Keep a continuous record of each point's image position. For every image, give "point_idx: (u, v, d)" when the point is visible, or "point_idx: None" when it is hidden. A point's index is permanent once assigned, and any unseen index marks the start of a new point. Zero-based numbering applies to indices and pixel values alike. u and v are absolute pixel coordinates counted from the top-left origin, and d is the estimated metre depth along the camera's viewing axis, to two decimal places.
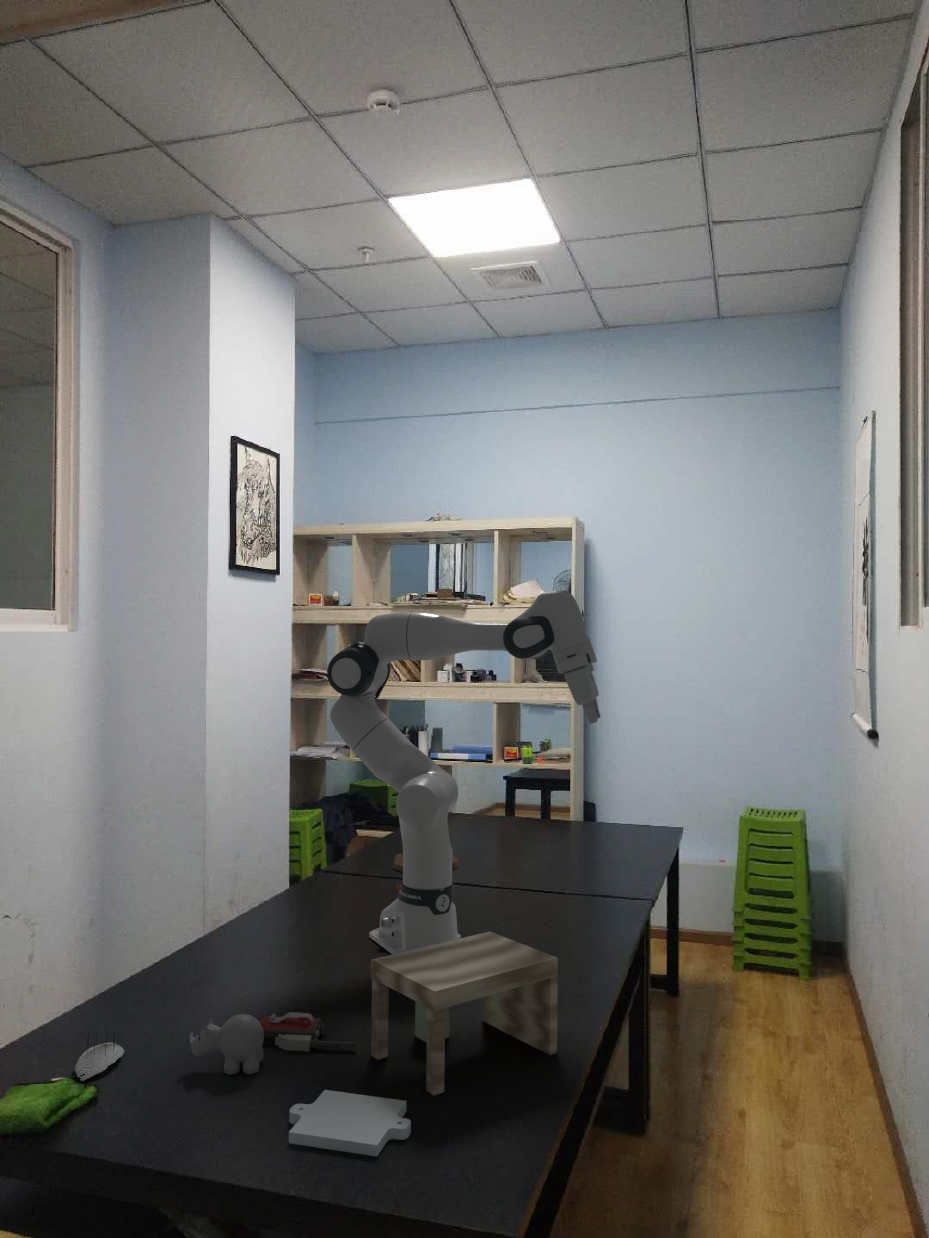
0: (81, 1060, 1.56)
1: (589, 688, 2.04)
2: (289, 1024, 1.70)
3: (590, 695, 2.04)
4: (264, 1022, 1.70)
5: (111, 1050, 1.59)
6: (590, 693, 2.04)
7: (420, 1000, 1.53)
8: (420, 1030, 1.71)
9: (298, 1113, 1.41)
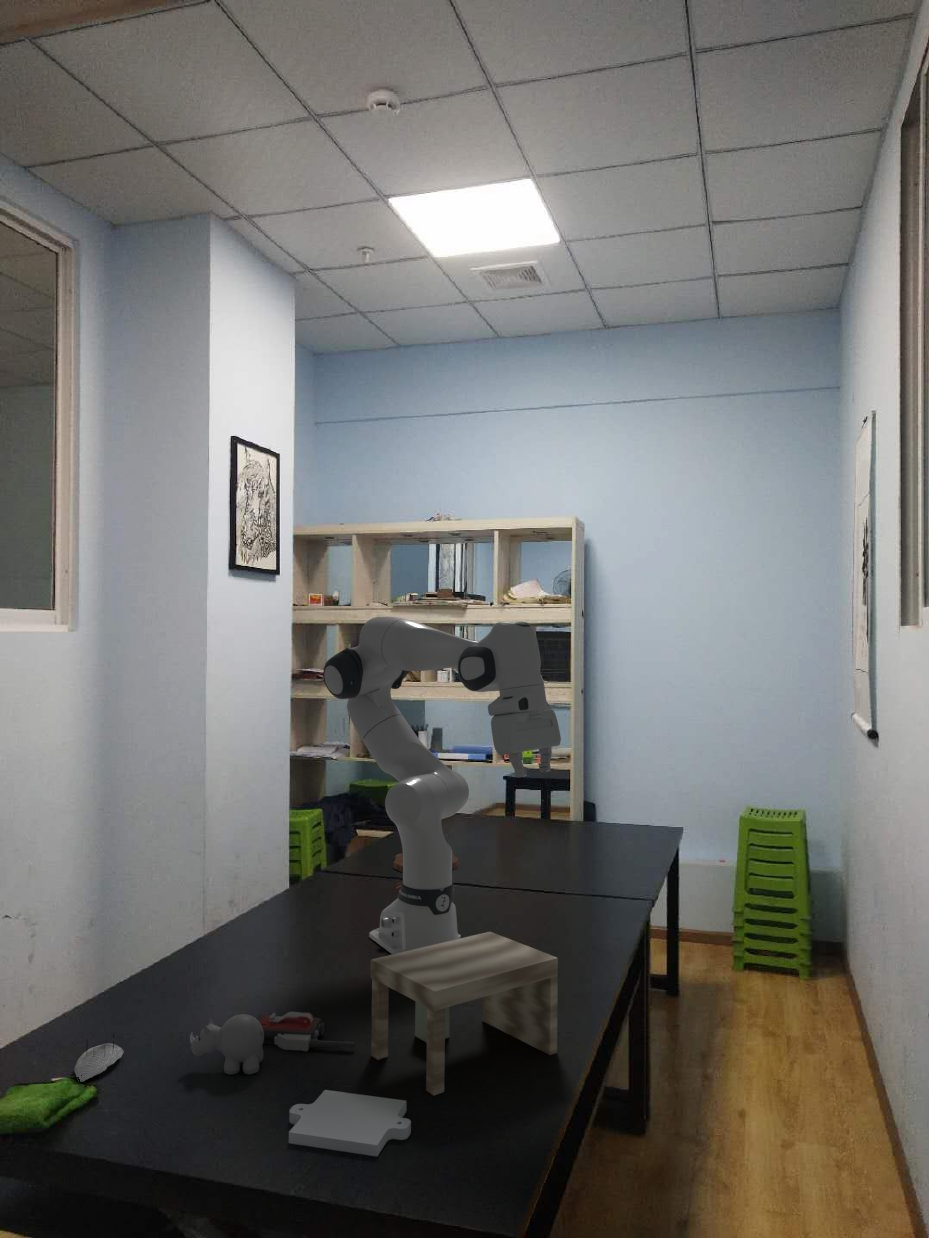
0: (80, 1061, 1.56)
1: (510, 738, 1.79)
2: (289, 1023, 1.70)
3: (510, 746, 1.79)
4: (264, 1021, 1.71)
5: (110, 1051, 1.59)
6: (510, 744, 1.79)
7: (420, 1000, 1.53)
8: (420, 1030, 1.71)
9: (298, 1113, 1.41)
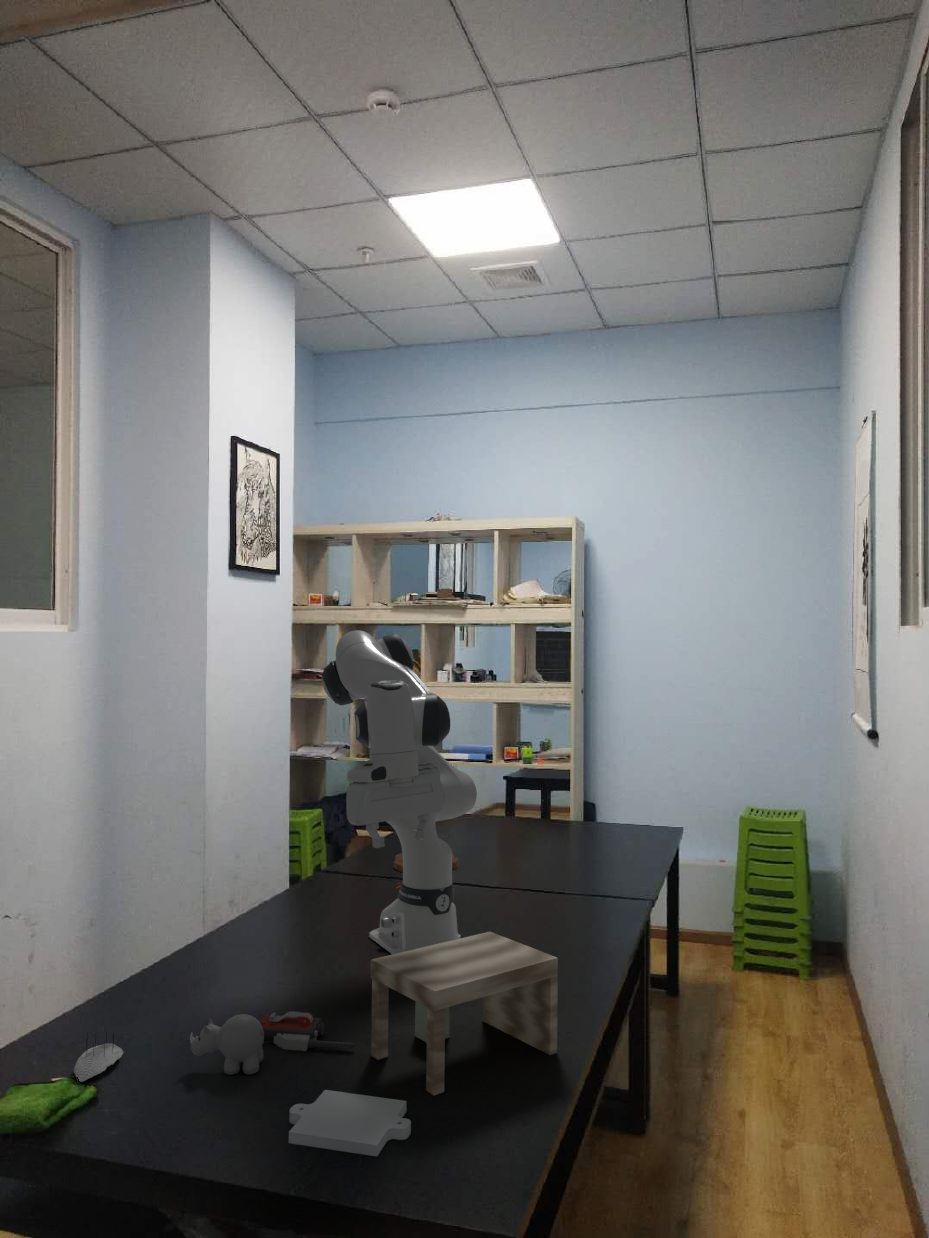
0: (80, 1061, 1.56)
1: (358, 810, 1.73)
2: (289, 1023, 1.70)
3: (357, 818, 1.73)
4: (264, 1021, 1.71)
5: (110, 1051, 1.59)
6: (357, 816, 1.73)
7: (420, 1000, 1.53)
8: (420, 1030, 1.71)
9: (298, 1113, 1.41)
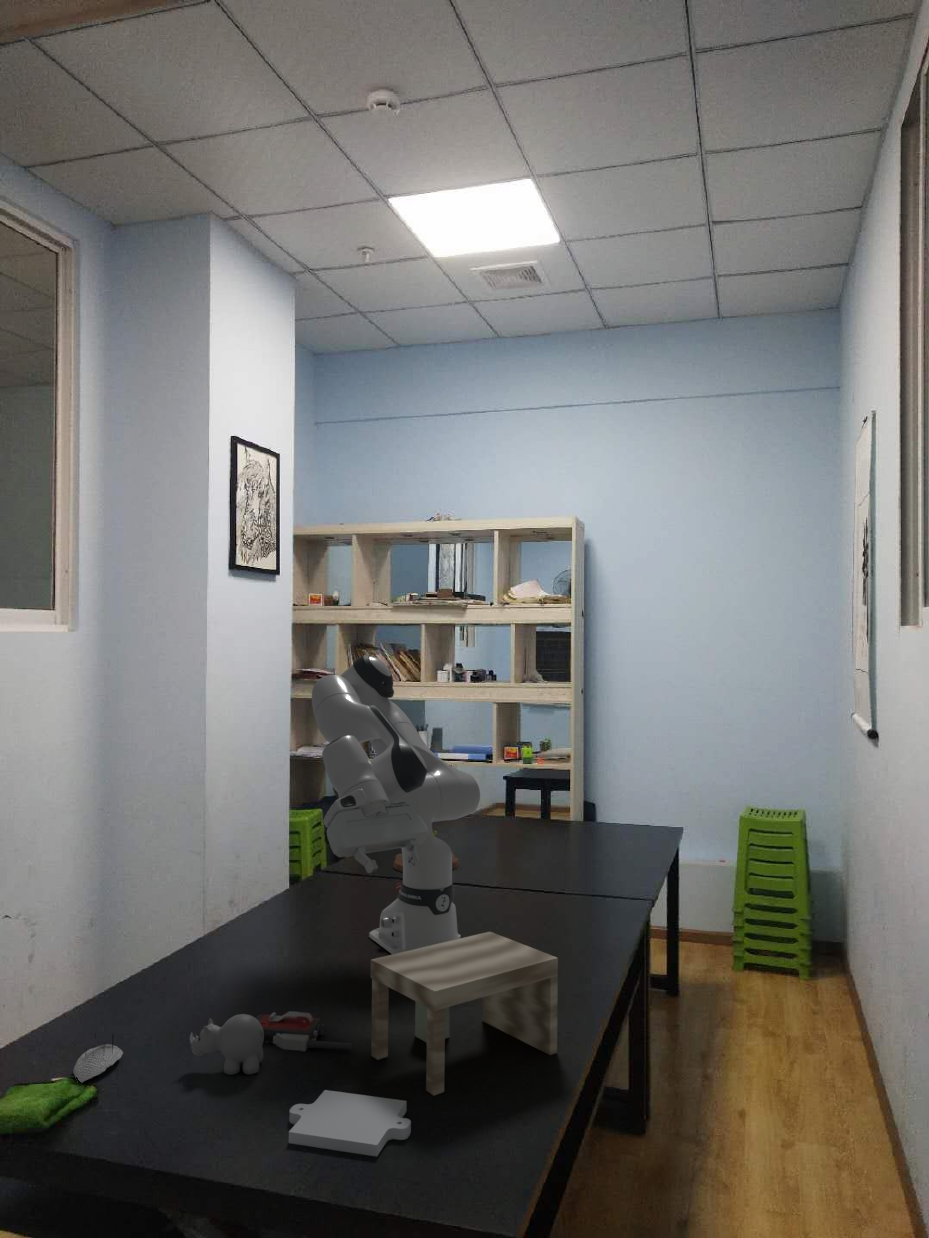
0: (80, 1062, 1.56)
1: (338, 835, 1.79)
2: (288, 1023, 1.70)
3: (340, 842, 1.78)
4: (264, 1020, 1.71)
5: (110, 1052, 1.58)
6: (340, 840, 1.78)
7: (420, 1000, 1.53)
8: (420, 1030, 1.71)
9: (298, 1113, 1.41)
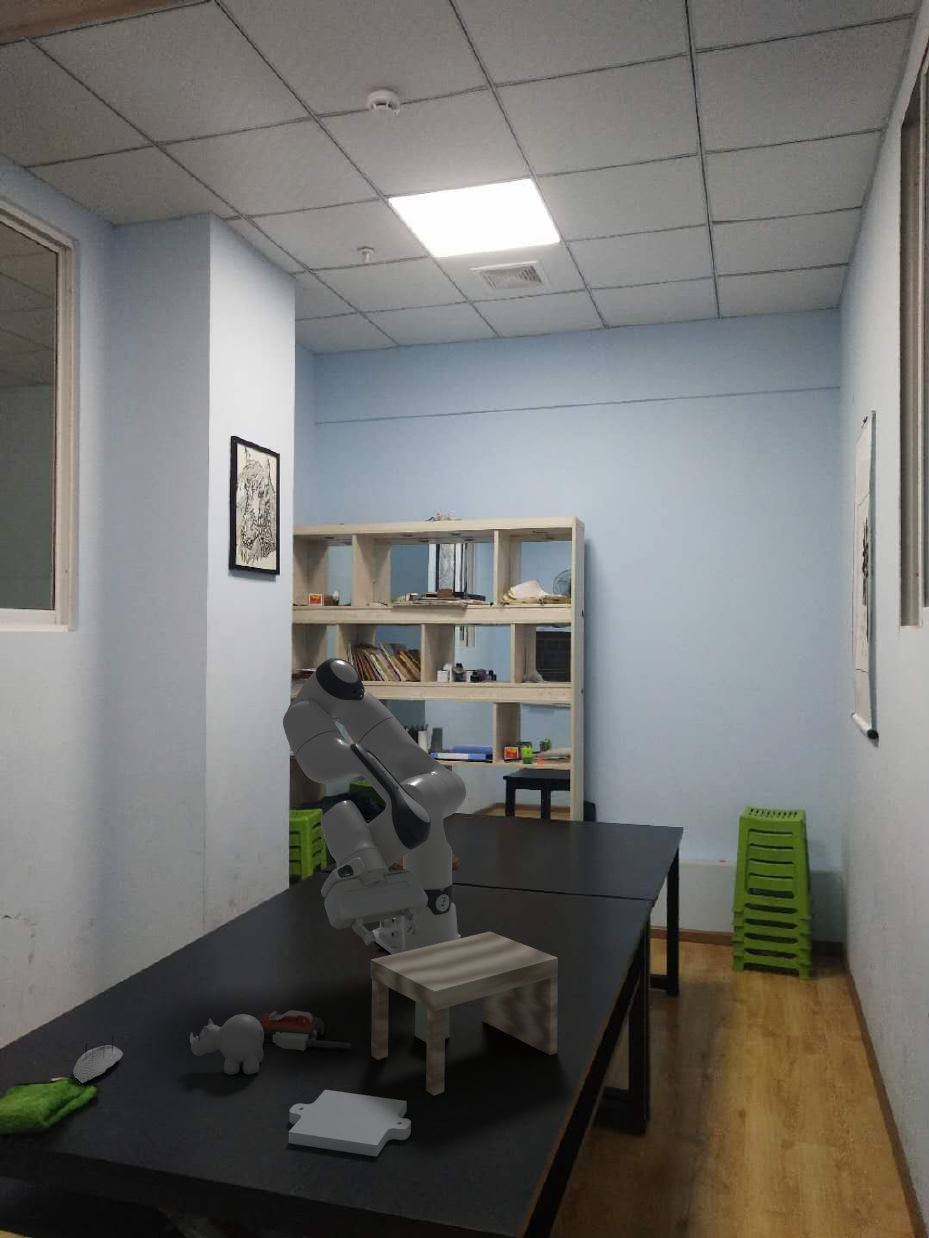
0: (79, 1063, 1.55)
1: (336, 906, 1.77)
2: (288, 1022, 1.70)
3: (337, 914, 1.77)
4: (264, 1019, 1.72)
5: (109, 1053, 1.58)
6: (337, 912, 1.77)
7: (420, 1000, 1.53)
8: (420, 1030, 1.71)
9: (298, 1113, 1.41)
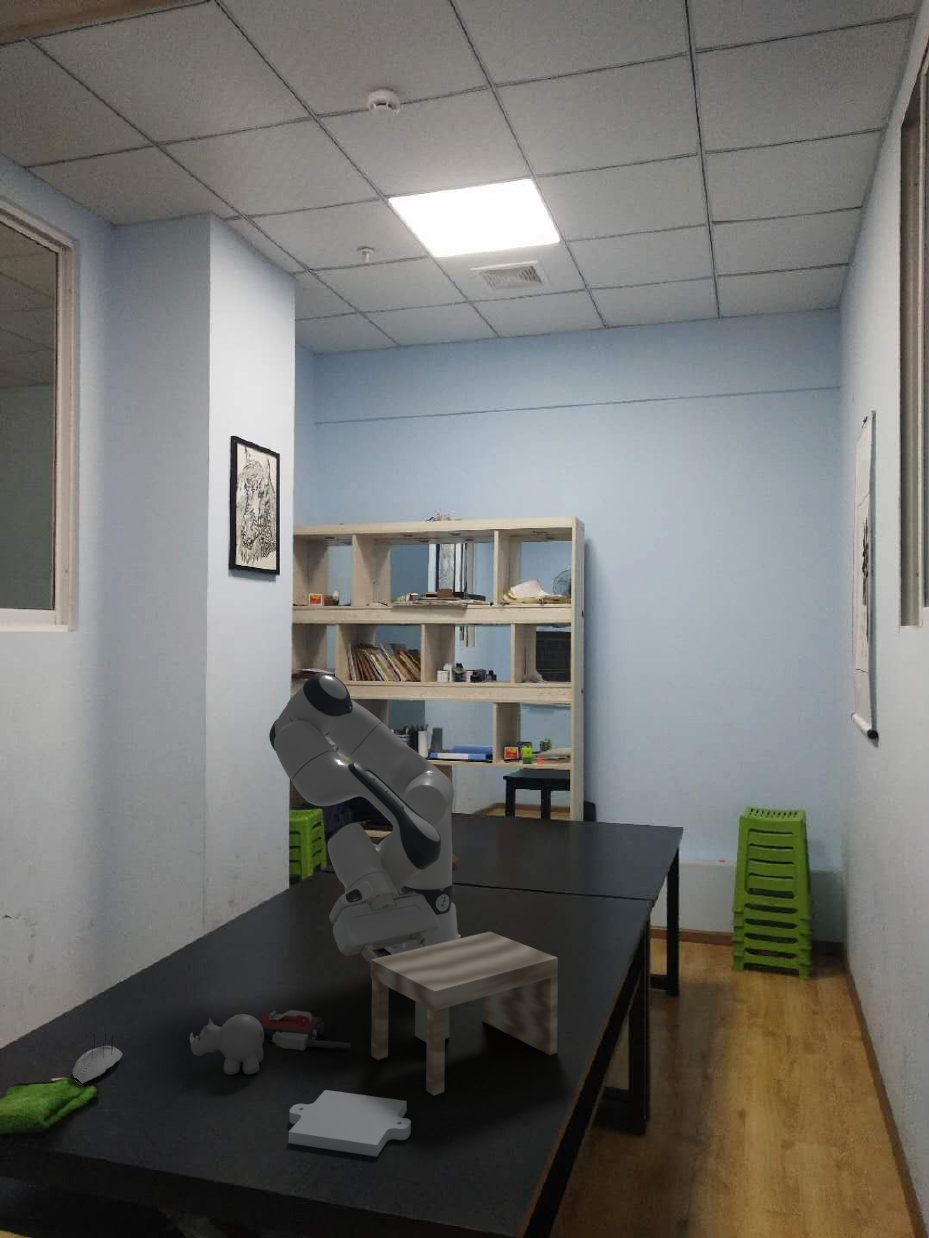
0: (79, 1063, 1.55)
1: (344, 932, 1.72)
2: (288, 1022, 1.71)
3: (346, 940, 1.72)
4: (264, 1019, 1.72)
5: (109, 1053, 1.58)
6: (346, 938, 1.72)
7: (420, 1000, 1.53)
8: (420, 1030, 1.71)
9: (298, 1113, 1.41)
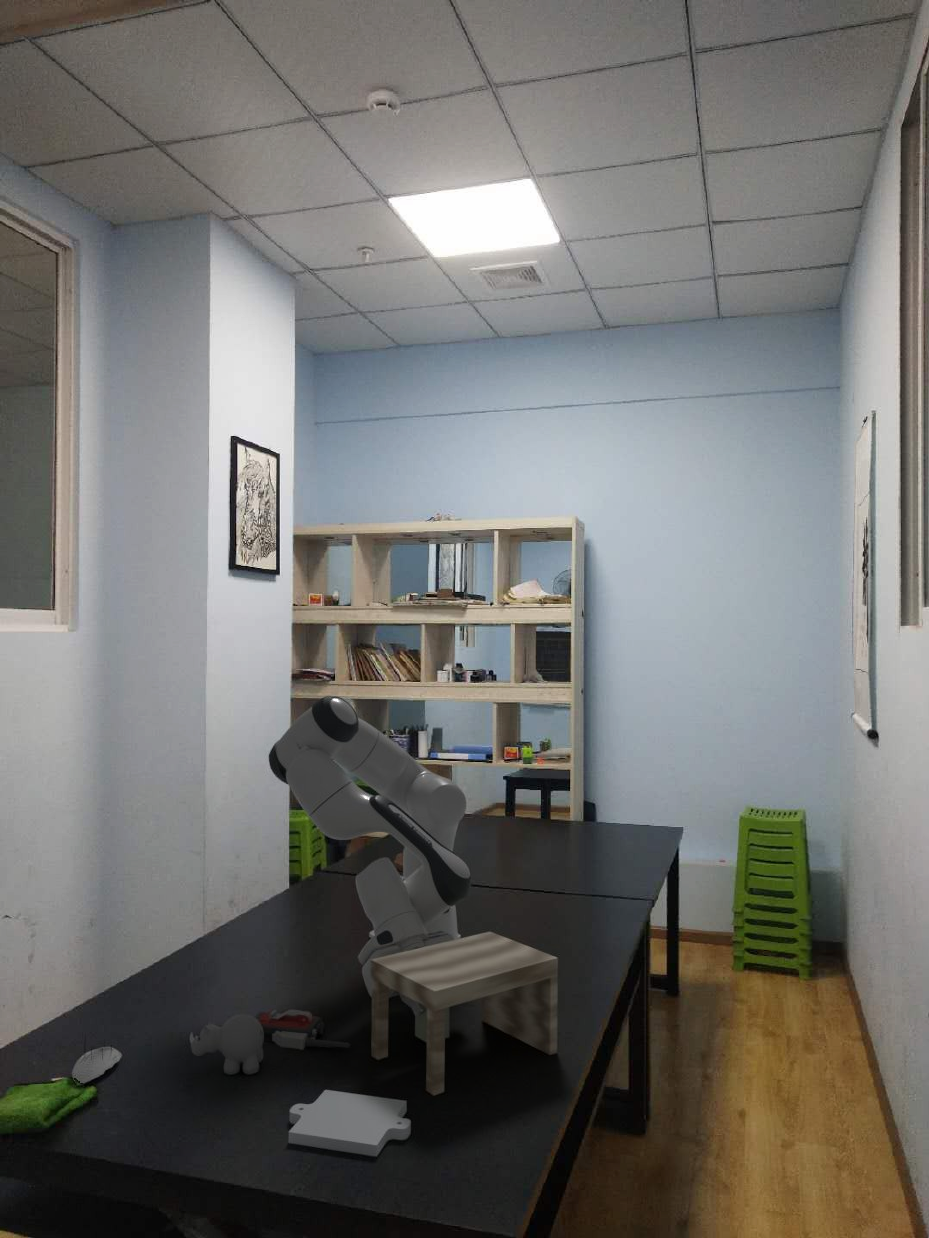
0: (78, 1065, 1.55)
1: None
2: (288, 1021, 1.71)
3: None
4: (265, 1018, 1.72)
5: (108, 1054, 1.57)
6: None
7: (420, 1000, 1.53)
8: (420, 1030, 1.71)
9: (298, 1113, 1.41)
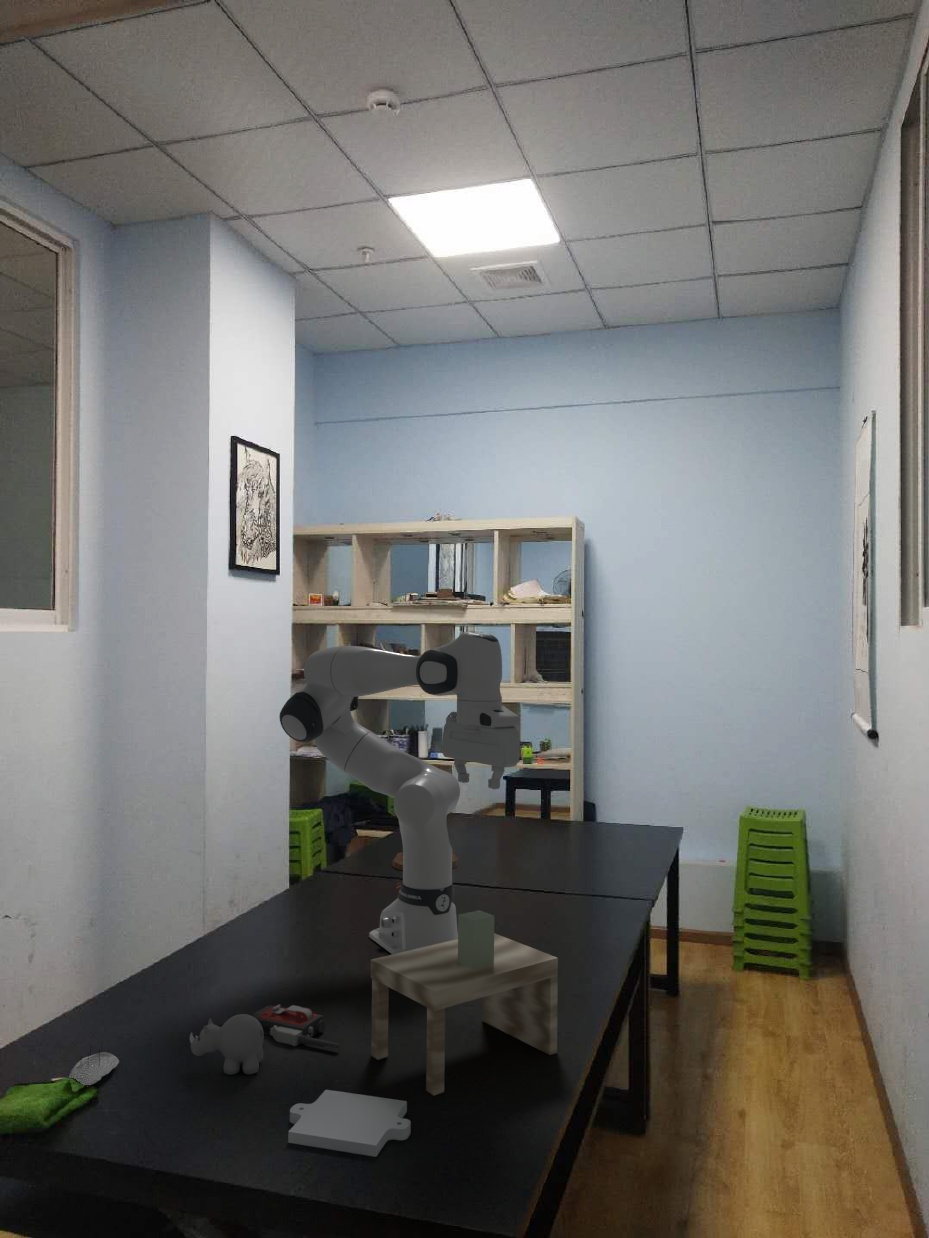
0: (74, 1071, 1.53)
1: (519, 752, 1.85)
2: (288, 1016, 1.73)
3: (518, 760, 1.85)
4: (268, 1012, 1.75)
5: (105, 1060, 1.55)
6: None
7: (420, 1000, 1.53)
8: (463, 956, 1.62)
9: (298, 1113, 1.41)
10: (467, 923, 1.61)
